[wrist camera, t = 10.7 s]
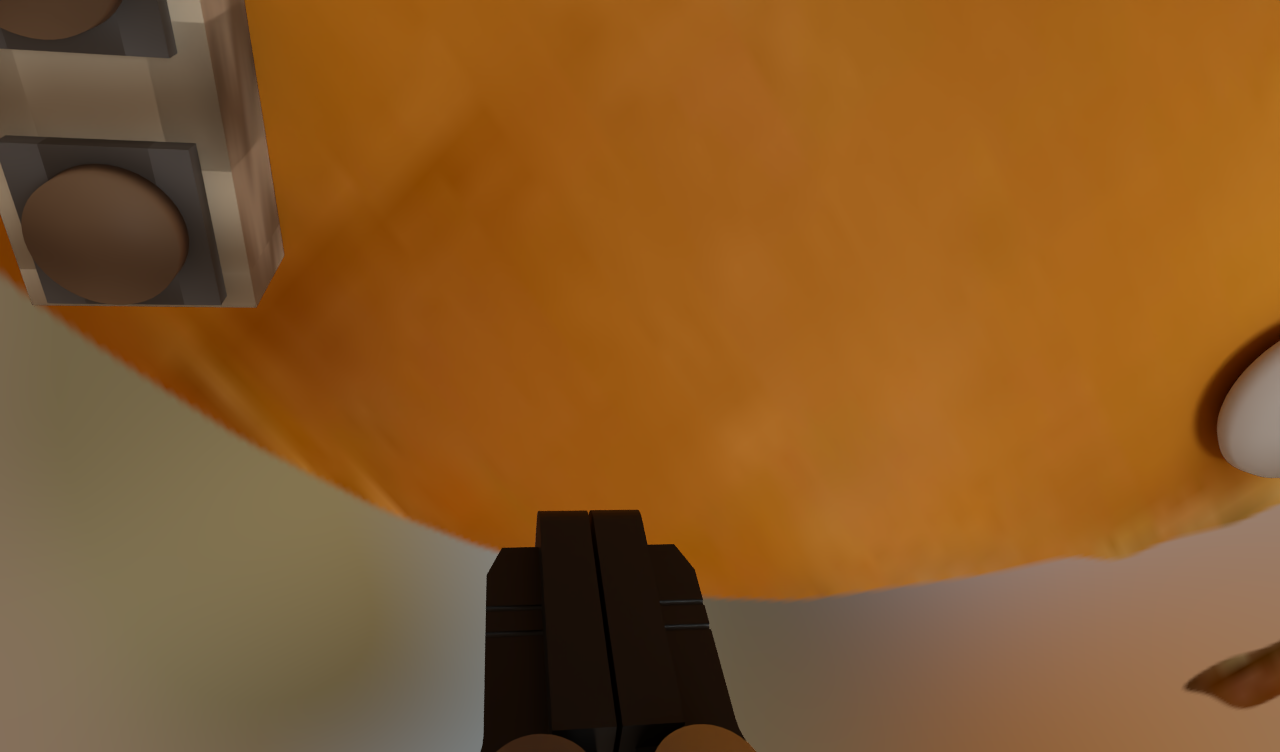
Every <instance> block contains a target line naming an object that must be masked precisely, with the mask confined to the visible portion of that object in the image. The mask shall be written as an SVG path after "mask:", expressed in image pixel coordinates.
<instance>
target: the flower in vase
mask: <svg viewBox="0 0 1280 752" xmlns="http://www.w3.org/2000/svg"><path fill="white" fill-rule="evenodd" d="M1217 436H1218V443H1219V447H1220V451H1221V453H1222V455H1223V457H1224V458H1225V459H1226V461H1227V462H1228V463H1230V464H1231V465H1232V466H1233V467H1235V468H1237V469H1239V470H1242V471H1245V472H1248V473H1250V474H1253V475H1257V476H1260V477H1267V478H1280V341H1278V342H1277V343H1276V344H1274V345H1273V346H1272V347H1270V348H1269V349H1267V350H1266V351H1265V352H1264V353H1263V354H1262V355H1260V356H1259V357H1258V358H1257V359H1256V360H1255V361H1254V362H1253V363H1252V364H1251V365H1250V366H1249V367H1248V368H1247V369H1246V370H1245V371H1244V372H1243V373H1242V374H1241V375H1240V377H1239V378H1238V379H1237V381H1236V382H1235V383H1234V385H1233V386H1232V387H1231V389H1230V391H1229V393H1228V394H1227V396H1226V398H1225V400H1224V402H1223V404H1222V406H1221V409H1220V412H1219V416H1218V421H1217Z"/></svg>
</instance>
